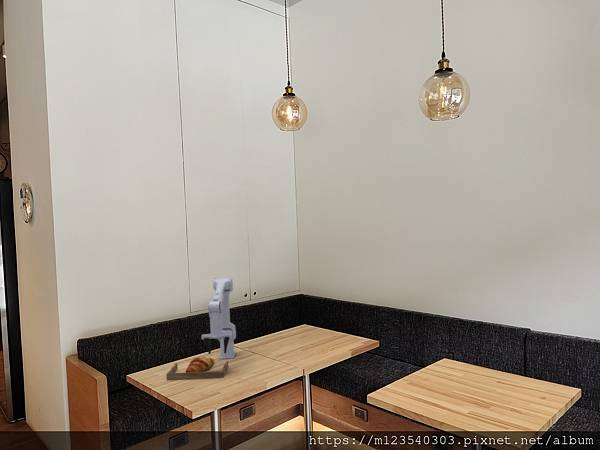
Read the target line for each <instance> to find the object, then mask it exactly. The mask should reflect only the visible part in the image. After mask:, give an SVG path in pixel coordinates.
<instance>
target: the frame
mask: <svg viewBox="0 0 600 450" xmlns="http://www.w3.org/2000/svg"><path fill="white" fill-rule="evenodd" d="M228 368H229V360H227V361H225V363H224V365H223V367H222V369H221V370H216V371H215V370H213V371H212V370H211V371H204V372H188V373H186V372H177V371H178V363H175V364H174V365H173V366H172V367H171V368H170V369H169V370H168V371H167V373H166V381H181V380H182V381H183V380H204V379H207V380H208V379H223V378H224V376H225V374H226V372H227V370H228Z"/></svg>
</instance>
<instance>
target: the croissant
mask: <svg viewBox="0 0 600 450" xmlns="http://www.w3.org/2000/svg"><path fill="white" fill-rule="evenodd" d="M214 363H215V358H212V357H206V356H202V357H201V356H198V357H195V358H193V359H192V360H191V361H190V362H189V364H188V366H187V368H186V369H185V373H188V372H206V371H208V370H209V369H210V368H211V367H212V366H213V365H214Z"/></svg>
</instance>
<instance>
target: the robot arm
mask: <svg viewBox="0 0 600 450" xmlns="http://www.w3.org/2000/svg"><path fill="white" fill-rule="evenodd" d="M212 286H213V289H214V291H215V292H213V294H212V296H211V300H210V301H209V302H208V304H207V312H208V317H209V324H210V325H209V326H210V333H207V334H206V333H205V334H202V335H201V340H203V343H204V345H205V347H206V349H207V352H208V355H211V353H212V351H211V350H212V349H211V341H212V340H213V339H215V340H216V339H217V340H218V341H219V343H220V345H219V347H220V356H219V357H218V358H219V359H220V360H222V359H223V360H224V359H234V358H235V356H236V354H237V352H235V342H234V340H236V338H237V330H236V325H235V324H234V323H232V322H231V313H230V309H231V308H230V294H231V293H232V292H233V290H234V283H233V278H232V277H226V278H225V277H224V278H221V277H220V278H214V279H213V281H212ZM211 339H212V340H211Z"/></svg>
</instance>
